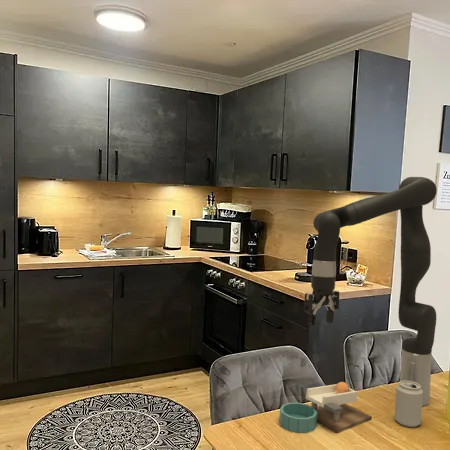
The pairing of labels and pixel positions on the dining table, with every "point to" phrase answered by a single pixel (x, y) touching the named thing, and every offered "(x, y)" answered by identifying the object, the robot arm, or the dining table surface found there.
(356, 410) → the stand
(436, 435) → the dining table surface
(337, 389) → the ball
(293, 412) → the teal round bowl
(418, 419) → the can
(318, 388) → the cream shallow tray
